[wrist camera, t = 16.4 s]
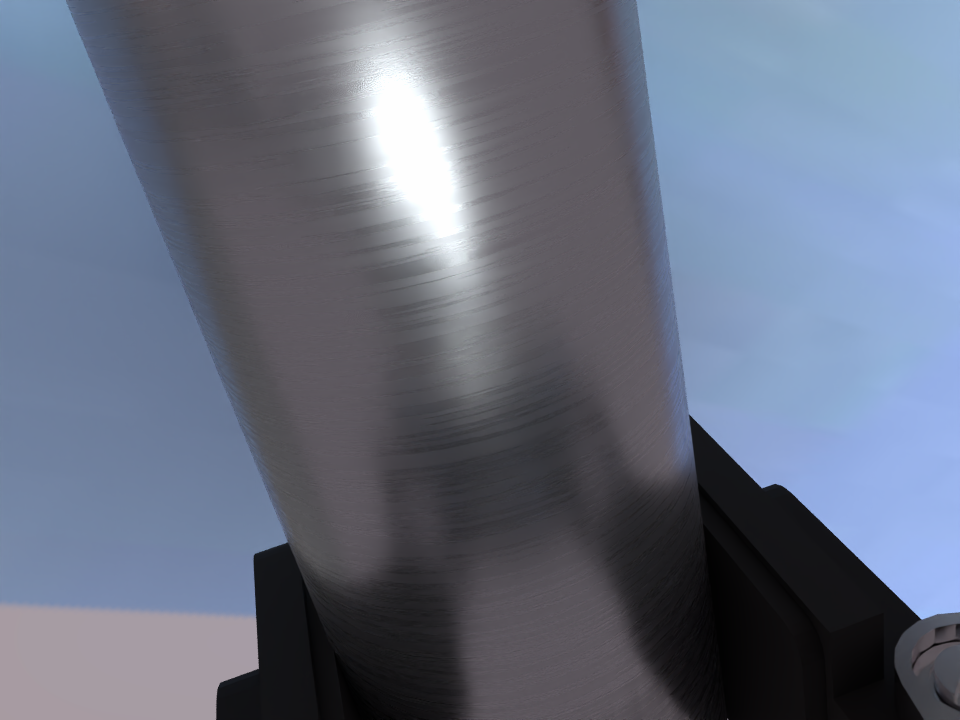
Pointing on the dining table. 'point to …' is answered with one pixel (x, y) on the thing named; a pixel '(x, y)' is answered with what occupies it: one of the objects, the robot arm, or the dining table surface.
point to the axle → (440, 333)
